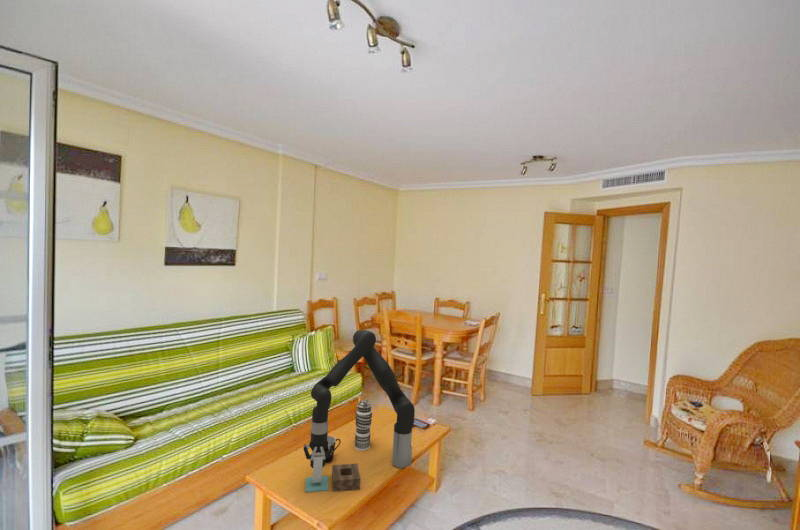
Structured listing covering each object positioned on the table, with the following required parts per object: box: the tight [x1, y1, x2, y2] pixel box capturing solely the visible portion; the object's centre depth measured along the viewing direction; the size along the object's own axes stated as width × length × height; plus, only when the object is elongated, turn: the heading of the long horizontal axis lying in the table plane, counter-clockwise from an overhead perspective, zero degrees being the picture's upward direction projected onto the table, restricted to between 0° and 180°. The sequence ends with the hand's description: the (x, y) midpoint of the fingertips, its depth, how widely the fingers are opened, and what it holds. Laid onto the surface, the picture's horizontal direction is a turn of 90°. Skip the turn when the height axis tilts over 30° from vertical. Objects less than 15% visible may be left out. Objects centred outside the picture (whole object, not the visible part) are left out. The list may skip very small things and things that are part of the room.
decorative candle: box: [354, 399, 373, 452], centre depth 202 cm, size 9×9×25 cm
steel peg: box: [312, 452, 323, 483], centre depth 168 cm, size 4×4×12 cm
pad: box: [304, 475, 329, 493], centre depth 168 cm, size 10×10×1 cm
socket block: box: [331, 463, 361, 493], centre depth 171 cm, size 12×12×5 cm
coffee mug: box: [325, 435, 342, 464], centre depth 189 cm, size 12×9×10 cm
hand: (317, 466), depth 168 cm, fingers closed on steel peg, 4 cm apart
